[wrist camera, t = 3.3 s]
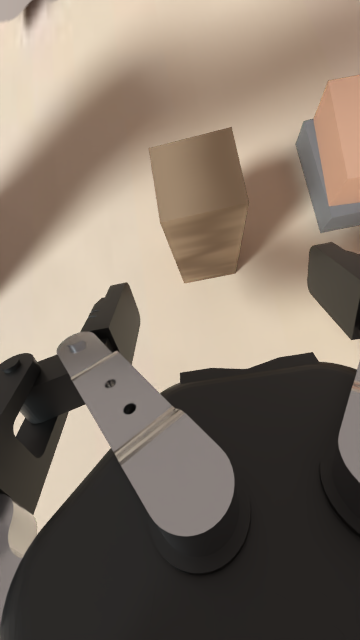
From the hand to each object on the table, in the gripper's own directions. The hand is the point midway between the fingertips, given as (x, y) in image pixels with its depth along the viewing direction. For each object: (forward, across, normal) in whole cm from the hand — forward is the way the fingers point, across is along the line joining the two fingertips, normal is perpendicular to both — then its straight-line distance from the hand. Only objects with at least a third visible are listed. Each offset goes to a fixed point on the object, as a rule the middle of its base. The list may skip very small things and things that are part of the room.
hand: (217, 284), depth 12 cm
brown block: (+12, 0, +3) cm, 12 cm away
